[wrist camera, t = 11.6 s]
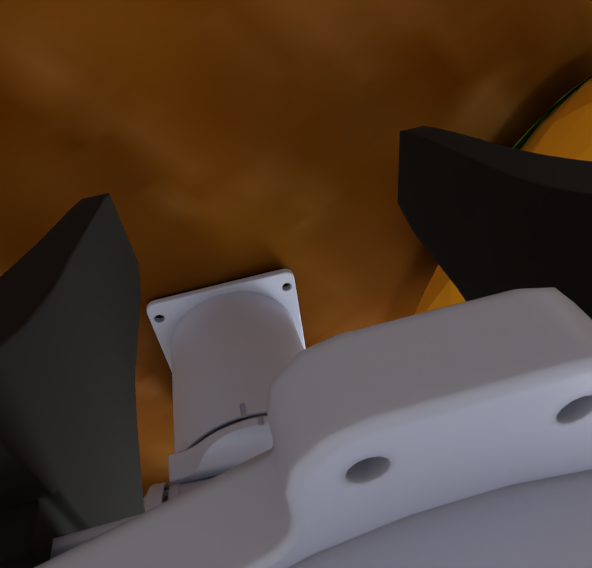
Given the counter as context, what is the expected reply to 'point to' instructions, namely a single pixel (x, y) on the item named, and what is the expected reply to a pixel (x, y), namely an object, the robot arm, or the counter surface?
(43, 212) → the counter surface
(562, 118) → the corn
